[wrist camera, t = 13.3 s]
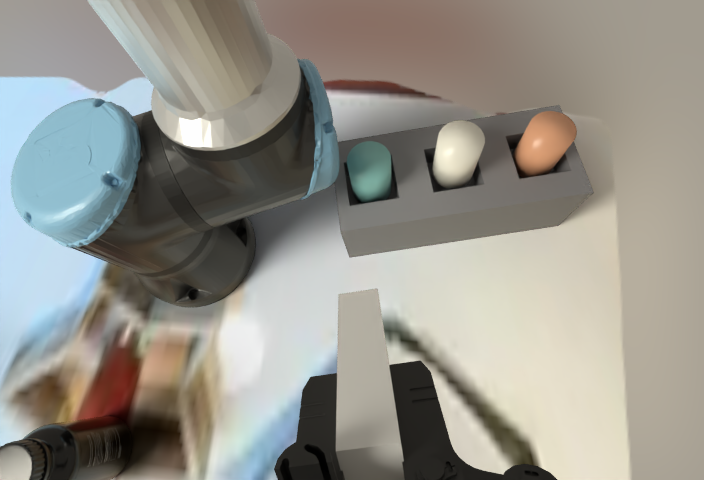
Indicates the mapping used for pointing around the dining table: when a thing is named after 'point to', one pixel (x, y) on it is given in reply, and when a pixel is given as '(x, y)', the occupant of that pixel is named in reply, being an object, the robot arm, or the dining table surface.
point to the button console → (457, 191)
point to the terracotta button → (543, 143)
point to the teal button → (370, 171)
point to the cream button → (457, 153)
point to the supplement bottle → (69, 451)
